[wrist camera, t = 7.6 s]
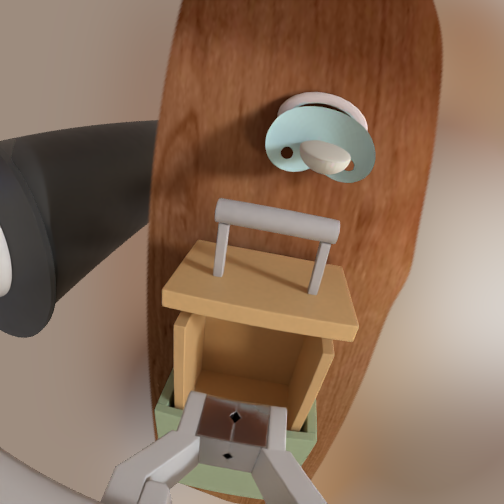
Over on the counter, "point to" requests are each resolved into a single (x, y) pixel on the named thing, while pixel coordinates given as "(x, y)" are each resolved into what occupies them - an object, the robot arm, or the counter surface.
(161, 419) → the cabinet
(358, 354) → the counter surface
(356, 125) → the pacifier
